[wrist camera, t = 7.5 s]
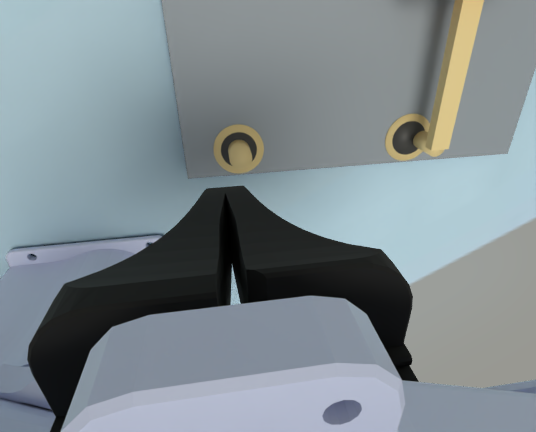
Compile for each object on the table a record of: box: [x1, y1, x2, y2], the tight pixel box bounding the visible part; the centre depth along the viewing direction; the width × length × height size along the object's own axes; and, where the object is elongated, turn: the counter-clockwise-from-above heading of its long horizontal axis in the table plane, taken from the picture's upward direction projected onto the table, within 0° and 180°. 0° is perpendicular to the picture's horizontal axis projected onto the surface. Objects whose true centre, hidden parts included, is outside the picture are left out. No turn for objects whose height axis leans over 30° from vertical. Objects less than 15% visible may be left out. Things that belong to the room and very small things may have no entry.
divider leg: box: [413, 0, 484, 157], centre depth 16 cm, size 5×12×3 cm, turn 1°
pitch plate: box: [162, 0, 536, 179], centre depth 17 cm, size 20×14×2 cm
